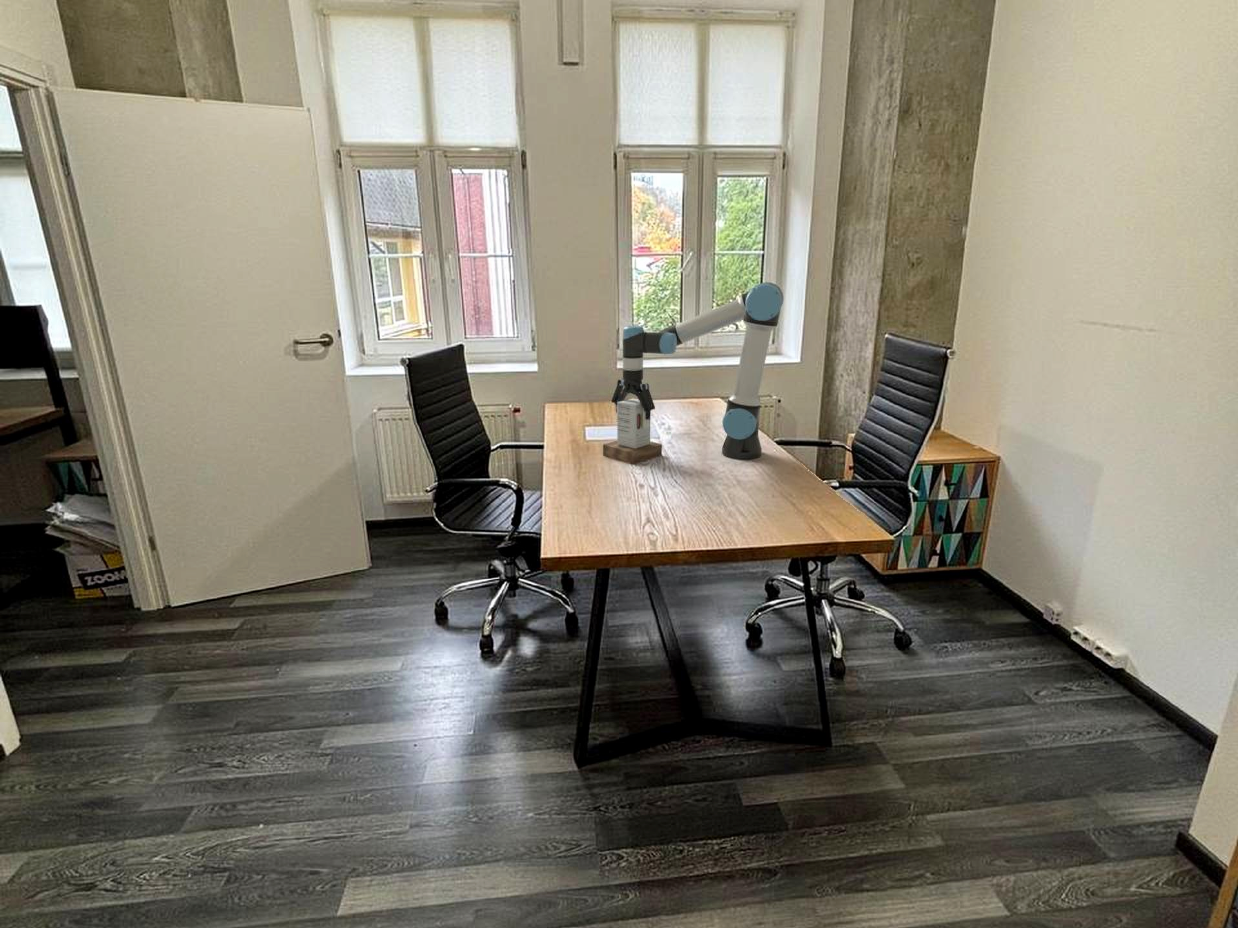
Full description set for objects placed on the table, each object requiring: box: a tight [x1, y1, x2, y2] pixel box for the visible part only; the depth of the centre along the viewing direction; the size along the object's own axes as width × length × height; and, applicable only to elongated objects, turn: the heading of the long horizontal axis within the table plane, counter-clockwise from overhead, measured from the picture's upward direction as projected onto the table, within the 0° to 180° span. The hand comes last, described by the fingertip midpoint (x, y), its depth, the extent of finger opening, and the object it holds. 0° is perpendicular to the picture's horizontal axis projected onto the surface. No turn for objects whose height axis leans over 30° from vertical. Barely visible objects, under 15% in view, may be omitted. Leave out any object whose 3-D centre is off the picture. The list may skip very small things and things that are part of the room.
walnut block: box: [602, 440, 663, 465], centre depth 248 cm, size 16×16×5 cm
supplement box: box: [616, 398, 651, 449], centre depth 244 cm, size 10×9×17 cm
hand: (632, 424), depth 244 cm, fingers open, 13 cm apart
